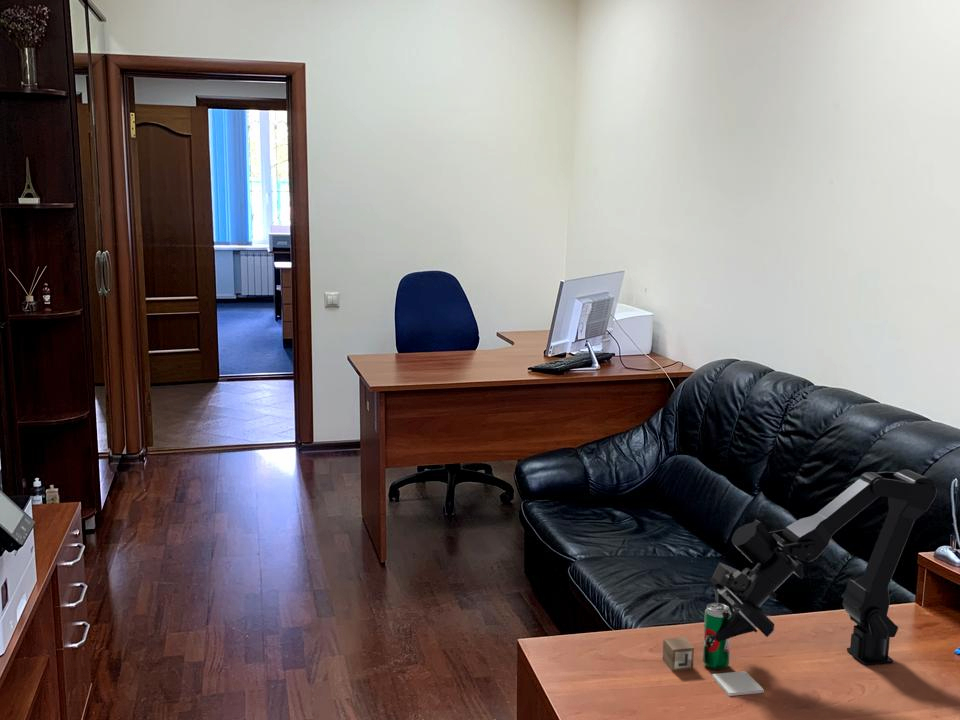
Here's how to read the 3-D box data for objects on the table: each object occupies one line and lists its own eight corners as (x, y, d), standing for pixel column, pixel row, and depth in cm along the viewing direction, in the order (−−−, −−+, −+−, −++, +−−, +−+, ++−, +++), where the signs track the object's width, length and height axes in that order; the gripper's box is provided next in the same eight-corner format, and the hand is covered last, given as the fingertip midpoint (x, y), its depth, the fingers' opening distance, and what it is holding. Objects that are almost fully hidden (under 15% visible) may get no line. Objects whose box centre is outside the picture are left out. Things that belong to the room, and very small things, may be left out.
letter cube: (683, 658, 178) (684, 637, 177) (693, 670, 173) (694, 648, 172) (662, 660, 177) (663, 639, 176) (672, 672, 172) (673, 650, 171)
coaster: (745, 673, 171) (745, 671, 171) (763, 692, 165) (763, 689, 165) (712, 677, 170) (712, 674, 170) (729, 696, 163) (729, 693, 163)
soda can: (729, 671, 172) (732, 614, 170) (703, 669, 173) (705, 611, 171) (728, 659, 176) (730, 603, 175) (702, 657, 177) (704, 600, 176)
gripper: (720, 534, 180) (667, 588, 181) (762, 570, 162) (702, 630, 162) (754, 569, 183) (702, 622, 183) (799, 607, 165) (741, 666, 165)
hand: (710, 633), depth 173 cm, fingers closed on soda can, 5 cm apart
